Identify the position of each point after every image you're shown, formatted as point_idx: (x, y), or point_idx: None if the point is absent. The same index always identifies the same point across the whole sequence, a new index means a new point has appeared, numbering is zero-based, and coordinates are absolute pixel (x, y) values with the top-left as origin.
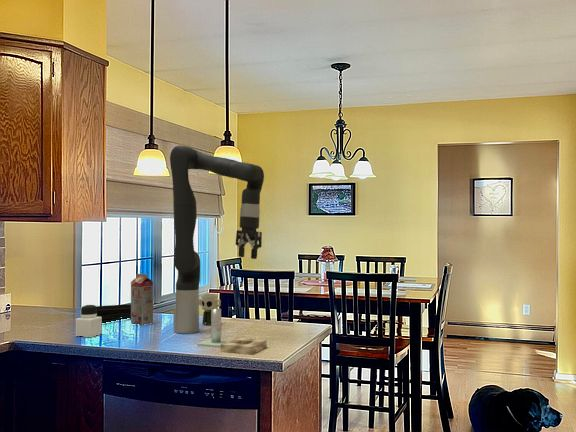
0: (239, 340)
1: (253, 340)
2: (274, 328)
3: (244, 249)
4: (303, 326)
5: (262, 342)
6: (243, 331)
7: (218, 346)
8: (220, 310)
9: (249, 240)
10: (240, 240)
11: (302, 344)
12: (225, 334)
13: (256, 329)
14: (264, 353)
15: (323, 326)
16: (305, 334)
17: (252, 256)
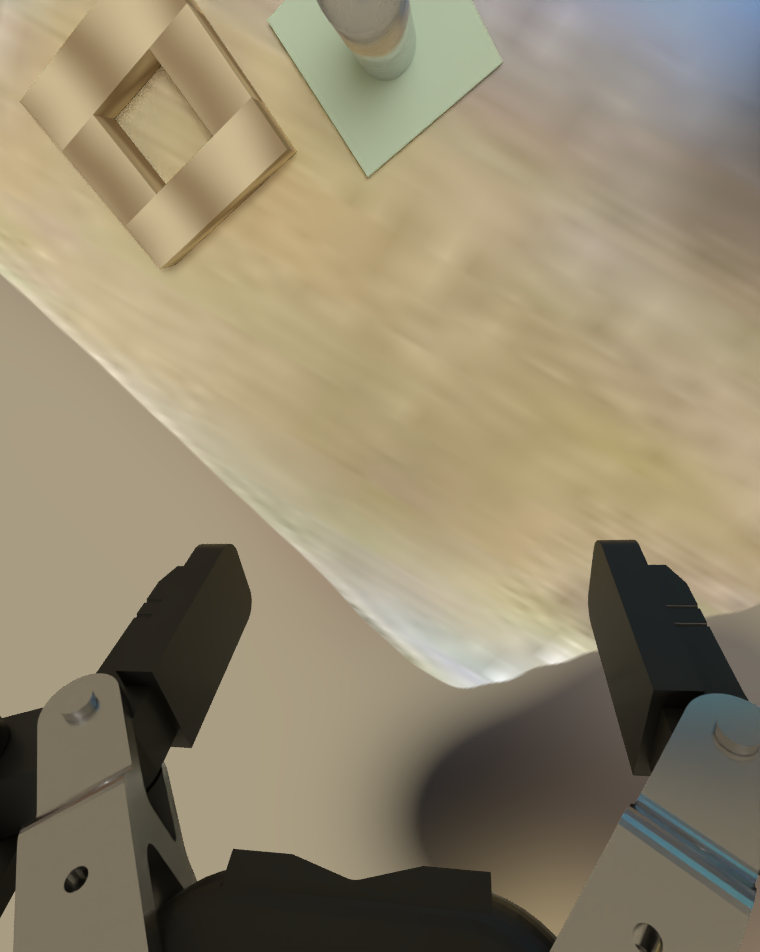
0: (208, 125)
1: (178, 202)
2: (544, 520)
3: (622, 733)
4: (497, 623)
5: (121, 222)
6: (589, 367)
7: (282, 6)
8: (324, 14)
9: (48, 880)
10: (647, 903)
11: (173, 427)
12: (589, 238)
13: (585, 446)
14: (54, 181)
15: (446, 668)
16: (347, 542)
17: (187, 568)
